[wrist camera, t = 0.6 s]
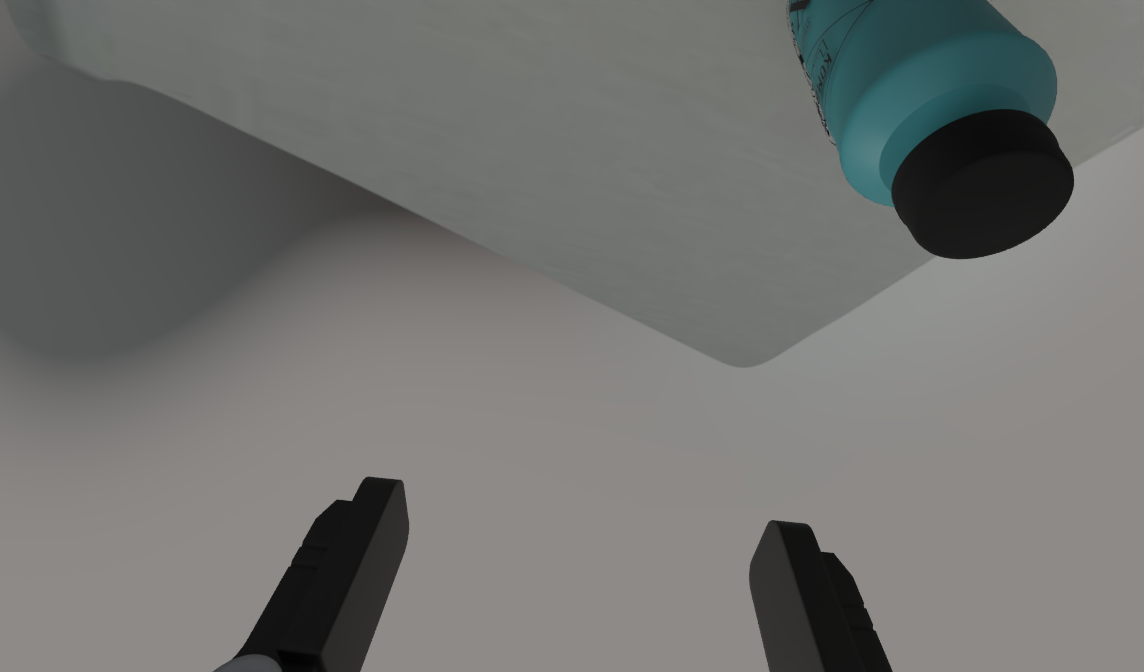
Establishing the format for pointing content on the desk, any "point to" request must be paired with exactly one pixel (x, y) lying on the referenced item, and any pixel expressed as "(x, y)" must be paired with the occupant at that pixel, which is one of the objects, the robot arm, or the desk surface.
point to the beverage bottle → (939, 117)
